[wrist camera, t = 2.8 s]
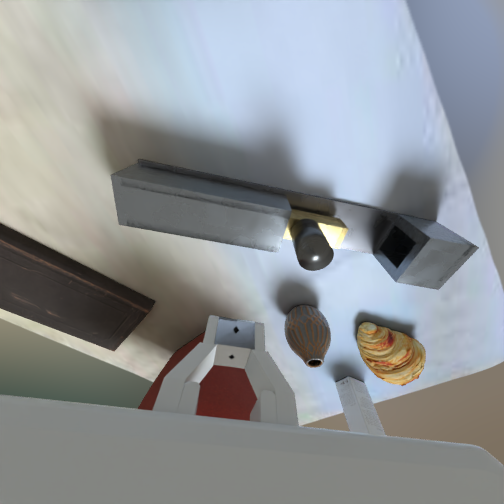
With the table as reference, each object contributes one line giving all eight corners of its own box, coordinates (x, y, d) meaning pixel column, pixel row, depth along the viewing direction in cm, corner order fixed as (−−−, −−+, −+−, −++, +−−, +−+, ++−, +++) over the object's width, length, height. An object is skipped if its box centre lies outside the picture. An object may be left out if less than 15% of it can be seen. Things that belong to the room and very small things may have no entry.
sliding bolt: (152, 205, 24) (117, 237, 18) (150, 177, 23) (111, 202, 16) (330, 239, 27) (353, 277, 20) (341, 216, 25) (370, 251, 19)
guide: (141, 210, 26) (114, 233, 21) (136, 158, 23) (102, 171, 18) (407, 259, 30) (438, 289, 25) (436, 221, 26) (479, 247, 21)
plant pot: (283, 353, 43) (296, 469, 29) (222, 384, 51) (210, 487, 37) (210, 308, 36) (182, 435, 22) (152, 351, 43) (103, 466, 29)
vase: (288, 296, 34) (297, 346, 27) (329, 301, 34) (348, 352, 27) (278, 323, 38) (284, 373, 30) (315, 327, 38) (329, 378, 31)
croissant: (338, 310, 41) (332, 351, 37) (396, 307, 33) (397, 358, 29) (388, 355, 49) (388, 394, 44) (444, 361, 41) (451, 408, 37)
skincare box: (334, 382, 50) (354, 450, 40) (348, 375, 48) (373, 444, 38) (351, 389, 52) (374, 455, 42) (365, 382, 50) (393, 450, 40)
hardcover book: (120, 340, 42) (114, 351, 40) (-19, 284, 34) (-36, 295, 32) (157, 298, 35) (151, 309, 33) (-7, 216, 27) (-27, 224, 25)
